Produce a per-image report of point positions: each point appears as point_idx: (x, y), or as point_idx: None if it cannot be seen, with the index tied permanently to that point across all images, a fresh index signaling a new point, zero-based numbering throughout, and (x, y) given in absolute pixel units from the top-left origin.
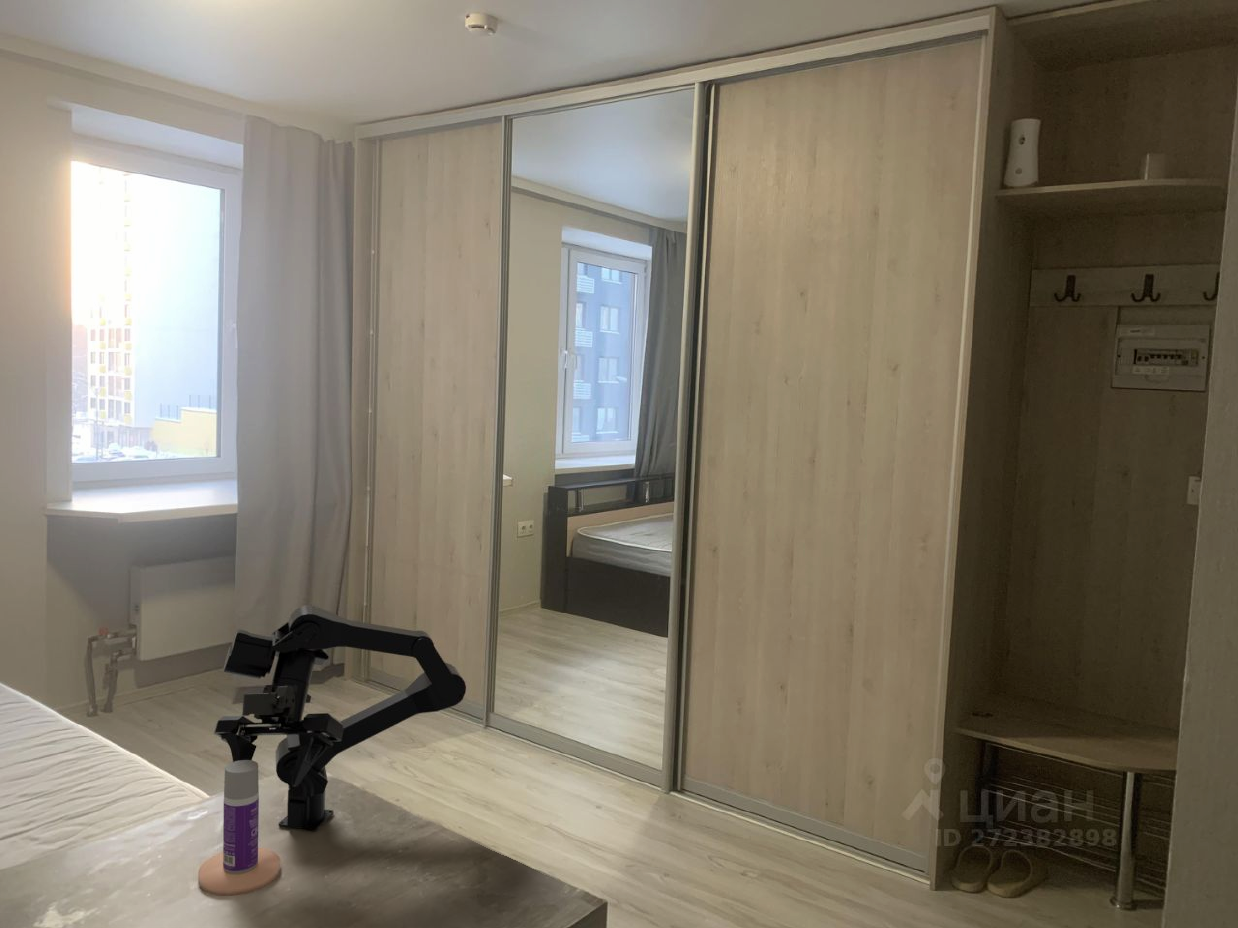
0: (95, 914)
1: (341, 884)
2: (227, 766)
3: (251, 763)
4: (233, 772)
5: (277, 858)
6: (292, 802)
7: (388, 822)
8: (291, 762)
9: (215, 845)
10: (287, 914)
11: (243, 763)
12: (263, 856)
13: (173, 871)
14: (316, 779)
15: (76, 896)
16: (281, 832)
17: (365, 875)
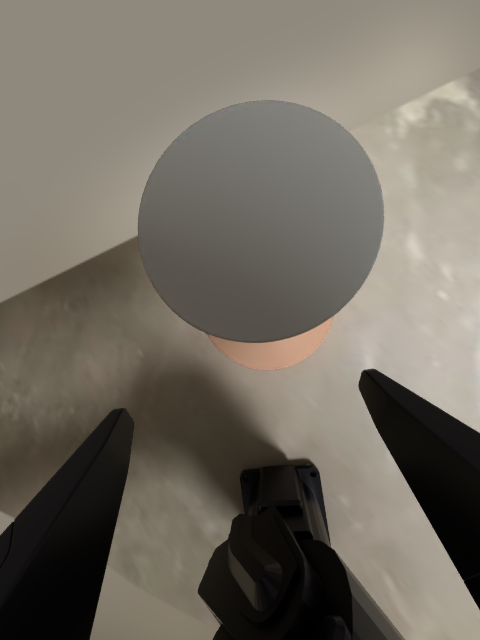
0: (387, 124)
1: (107, 342)
2: (351, 161)
3: (220, 293)
4: (230, 109)
5: (224, 349)
6: (286, 502)
7: (144, 547)
8: (285, 622)
9: (376, 364)
10: (131, 248)
11: (274, 262)
12: (250, 345)
13: (375, 266)
14: (219, 581)
15: (464, 142)
16: (296, 449)
17: (90, 377)
